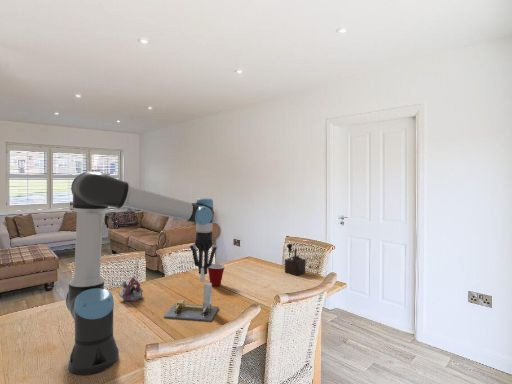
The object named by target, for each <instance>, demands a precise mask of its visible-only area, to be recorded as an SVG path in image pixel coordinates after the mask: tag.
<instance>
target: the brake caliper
mask: <svg viewBox="0 0 512 384" xmlns="http://www.w3.org/2000/svg"><path fill="white" fill-rule="evenodd" d="M120 286H121V287H122V293H119V294H118V296H119V297H120V298H122V300H124V301H125V302H137V301H138V300H140V299H142V297H143V292H144V290H142V287H141V284H140V281H139V282H138V281H137V280H136V278H135V277H133V276H132V277H131V278H130V280H129V282H128V283H127V282H126V281H123V280H122V283H121V284H120ZM139 298H140V299H139Z"/></svg>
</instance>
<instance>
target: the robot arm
mask: <svg viewBox="0 0 512 384" xmlns="http://www.w3.org/2000/svg"><path fill="white" fill-rule="evenodd" d="M70 187H71V188H70V191H71V194H72V209H73V210H74V211H75V212H76V225H75V227H76V229H75V230H76V231H75V246H74V247H75V249H74V250H75V251H74V252H75V253H74V270H73V271H74V272H73V273H74V275H73V277H72V279H70V280H69V282H68V291H67V293H66V296H65V303H66V304H65V305H66V307H67V310H68V311H69V312H70V315H71V317H72V318H73V319H72V320H73V322H74V345H73V348H72V350H71V353H70V355H69V357H68V358H69V359H68V370H69V371H70V372H71V373H72V374H74V375H80V376H84V375H85V376H86V375H87V374H89V375H93V373H94V374H97V372H98V373H100V371H101V372H103V371H105V369H106V370H108V369H109V368H111V367H112V366H114V365H115V364H116V363H115V362H117V361H118V360H119V356H120V355H119V351H120V350H119V347H118V346H117V342H116V340H115V337H114V305H115V300H114V296H113V293H112V292H111V291H110V290H108V289H105V278H104V277H102V275H101V263H102V262H101V261H102V244H103V224H104V223H103V221H104V213H105V212H106V211H107V210H108V209H109V207H110V208H116V209H122V208H124V207H125V208H129V209H133V210H137V211H143V212H146V213H151V214H155V215H159V216H163V217H168V218H172V219H173V221H185V222H190V223H193V224H195V230H196V232H195V241H194V244H191V245H190V246H189V248H190V250H191V252H192V253H191V254H192V258H193V262H194V266H195V267H198V274H199V275H200V283H205V281H206V275H207V274H208V267H210V266H211V265H212V264H213V260H214V257H215V254H216V251H217V249H218V246H216V245H215V244H214V242H213V232H212V231H213V223H214V221H213V220H214V219H213V218H214V217H213V216H214V201H213V199H212V198H208V197H207V198H206V197H199V198H197V199H196V202H189V201H185V200H181V199H178V198H174V197H171V196H167V195H163V194H160V193H156V192H152V191H150V190H149V191H148V190H145V189H142V188H138V187H134V186H132V185H130V183H129V182H127V181H124V180H120V179H117V178H116V177H112V176H111V175H109V174H106V173H103V172H99V171H98V172H97V171H86V172H85V171H84V172H82V173H80V174H78V175H77V176H75V178H73V181H72V182H71V186H70ZM196 248H197V249H196ZM210 249H211V252H210V257H209V250H210ZM197 250H198V253H197ZM203 255H204V256H203ZM114 363H115V364H114ZM113 364H114V365H113ZM110 366H111V367H110ZM107 368H108V369H107ZM87 376H88V375H87Z"/></svg>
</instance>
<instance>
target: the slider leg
mask: <svg viewBox="0 0 512 384" xmlns="http://www.w3.org/2000/svg"><path fill="white" fill-rule="evenodd" d="M212 288H213V287H212V283H210V282H204V284H203V302H202V306H203V312H204V314H206V312H209V311H210V307H212V306H213V305H212V304H213V301H212V300H213V299H212V294H213V293H212V290H213V289H212Z"/></svg>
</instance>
